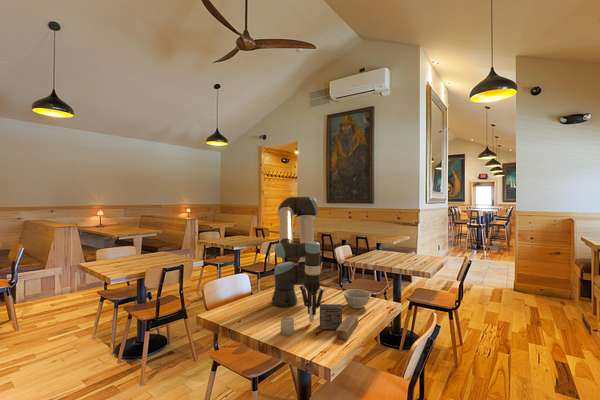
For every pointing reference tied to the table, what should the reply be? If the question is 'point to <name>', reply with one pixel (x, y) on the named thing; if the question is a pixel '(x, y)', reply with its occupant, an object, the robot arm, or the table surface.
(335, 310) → the small box
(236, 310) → the table surface
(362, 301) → the bowl
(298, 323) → the table surface
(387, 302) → the table surface
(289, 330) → the beige rounded piece
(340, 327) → the walnut rail
